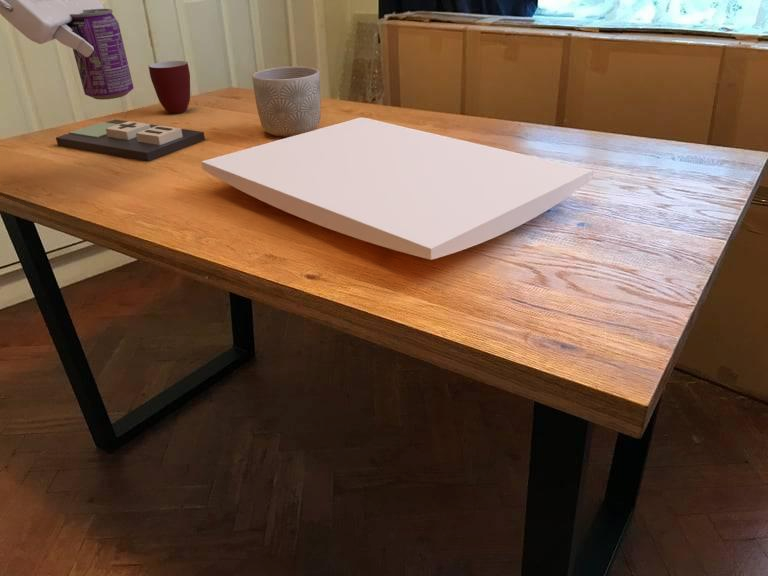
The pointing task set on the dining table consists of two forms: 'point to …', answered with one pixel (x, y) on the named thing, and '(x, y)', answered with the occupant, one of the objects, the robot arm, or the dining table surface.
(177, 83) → the mug
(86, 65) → the beverage can
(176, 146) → the letter board
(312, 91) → the planter
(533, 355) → the dining table surface
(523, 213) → the board
